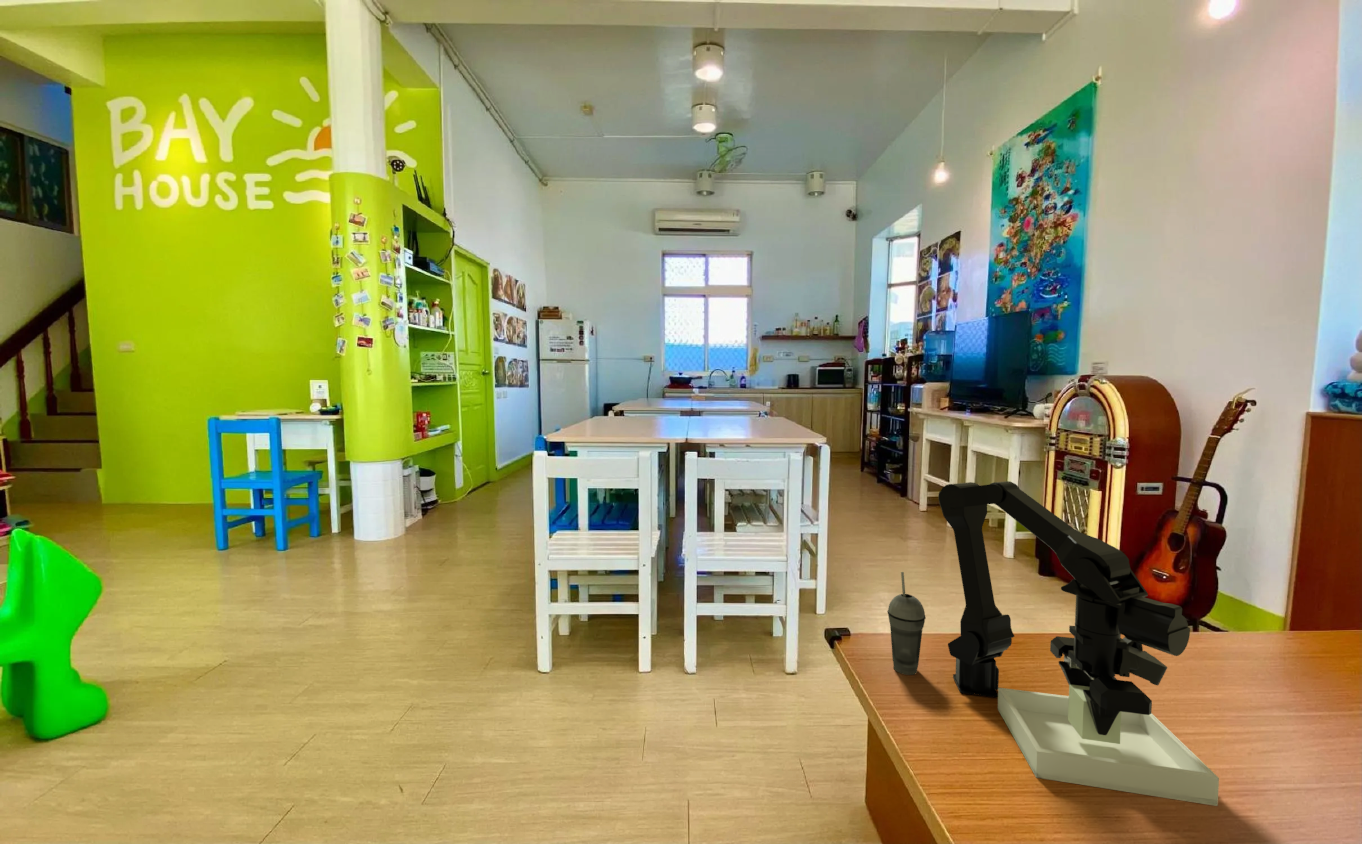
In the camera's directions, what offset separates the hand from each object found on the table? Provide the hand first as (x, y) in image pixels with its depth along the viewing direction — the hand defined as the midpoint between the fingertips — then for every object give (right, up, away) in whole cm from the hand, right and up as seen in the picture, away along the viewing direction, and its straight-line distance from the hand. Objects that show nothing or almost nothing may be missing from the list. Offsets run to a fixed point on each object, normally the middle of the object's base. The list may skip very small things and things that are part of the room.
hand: (1093, 724), depth 85 cm
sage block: (0, -1, 0) cm, 1 cm away
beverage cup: (-19, -3, +26) cm, 32 cm away
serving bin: (0, -4, 0) cm, 4 cm away
